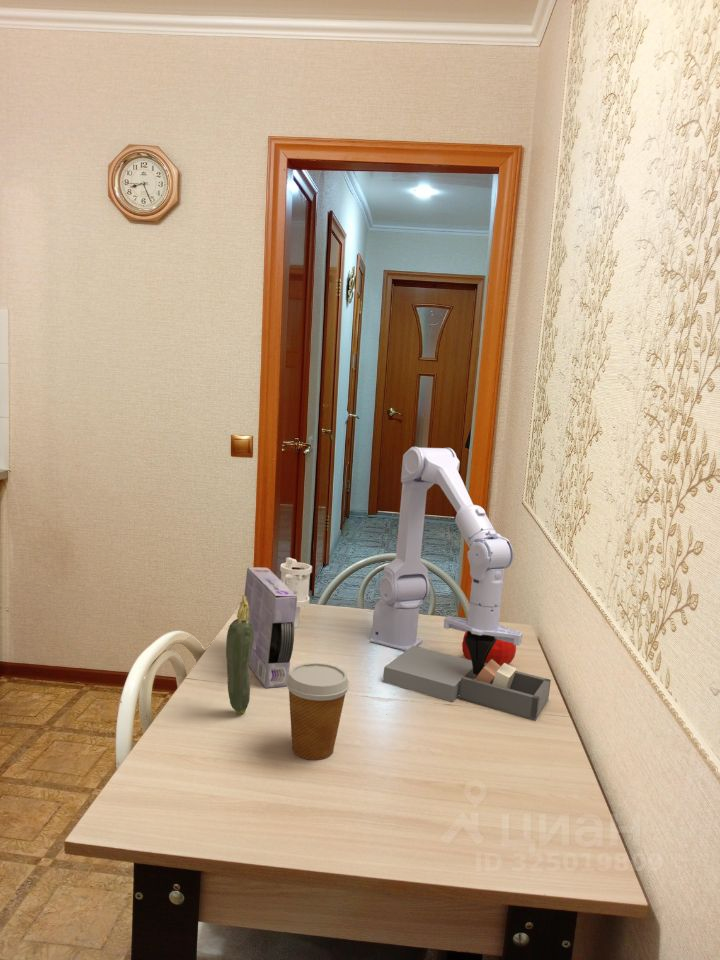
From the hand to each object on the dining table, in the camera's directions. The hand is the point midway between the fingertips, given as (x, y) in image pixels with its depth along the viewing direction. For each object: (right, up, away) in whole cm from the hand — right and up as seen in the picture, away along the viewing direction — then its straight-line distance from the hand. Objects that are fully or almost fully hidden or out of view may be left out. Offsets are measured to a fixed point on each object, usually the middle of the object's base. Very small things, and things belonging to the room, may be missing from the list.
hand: (477, 672), depth 133 cm
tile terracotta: (0, 0, 0) cm, 1 cm away
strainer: (-37, +3, +28) cm, 47 cm away
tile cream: (+3, -1, -2) cm, 4 cm away
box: (+5, -4, -2) cm, 7 cm away
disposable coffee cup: (-29, -5, -25) cm, 39 cm away
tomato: (+4, -3, +14) cm, 15 cm away
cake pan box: (-40, 0, +3) cm, 41 cm away
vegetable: (-42, -3, -16) cm, 46 cm away
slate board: (-8, -3, +5) cm, 10 cm away
